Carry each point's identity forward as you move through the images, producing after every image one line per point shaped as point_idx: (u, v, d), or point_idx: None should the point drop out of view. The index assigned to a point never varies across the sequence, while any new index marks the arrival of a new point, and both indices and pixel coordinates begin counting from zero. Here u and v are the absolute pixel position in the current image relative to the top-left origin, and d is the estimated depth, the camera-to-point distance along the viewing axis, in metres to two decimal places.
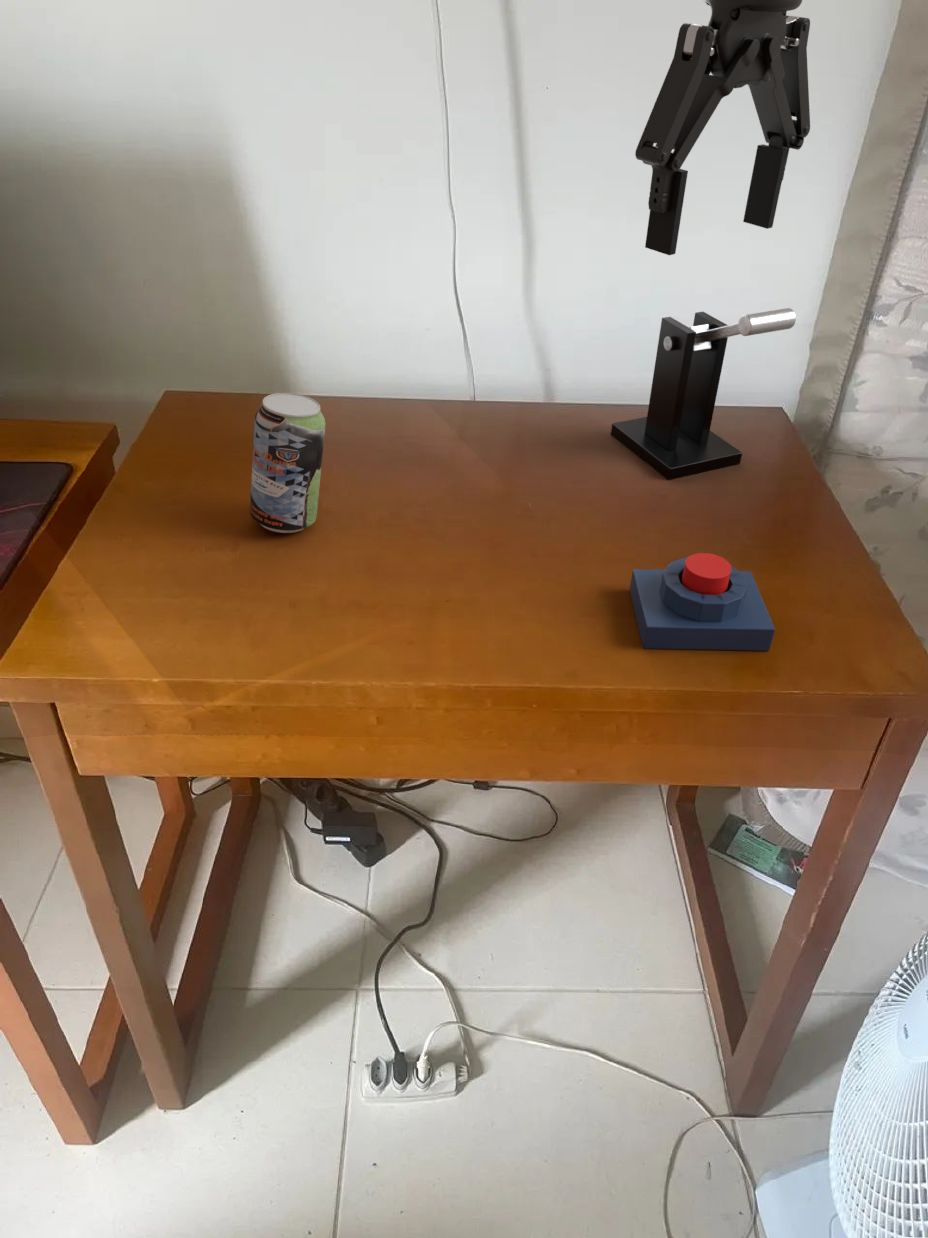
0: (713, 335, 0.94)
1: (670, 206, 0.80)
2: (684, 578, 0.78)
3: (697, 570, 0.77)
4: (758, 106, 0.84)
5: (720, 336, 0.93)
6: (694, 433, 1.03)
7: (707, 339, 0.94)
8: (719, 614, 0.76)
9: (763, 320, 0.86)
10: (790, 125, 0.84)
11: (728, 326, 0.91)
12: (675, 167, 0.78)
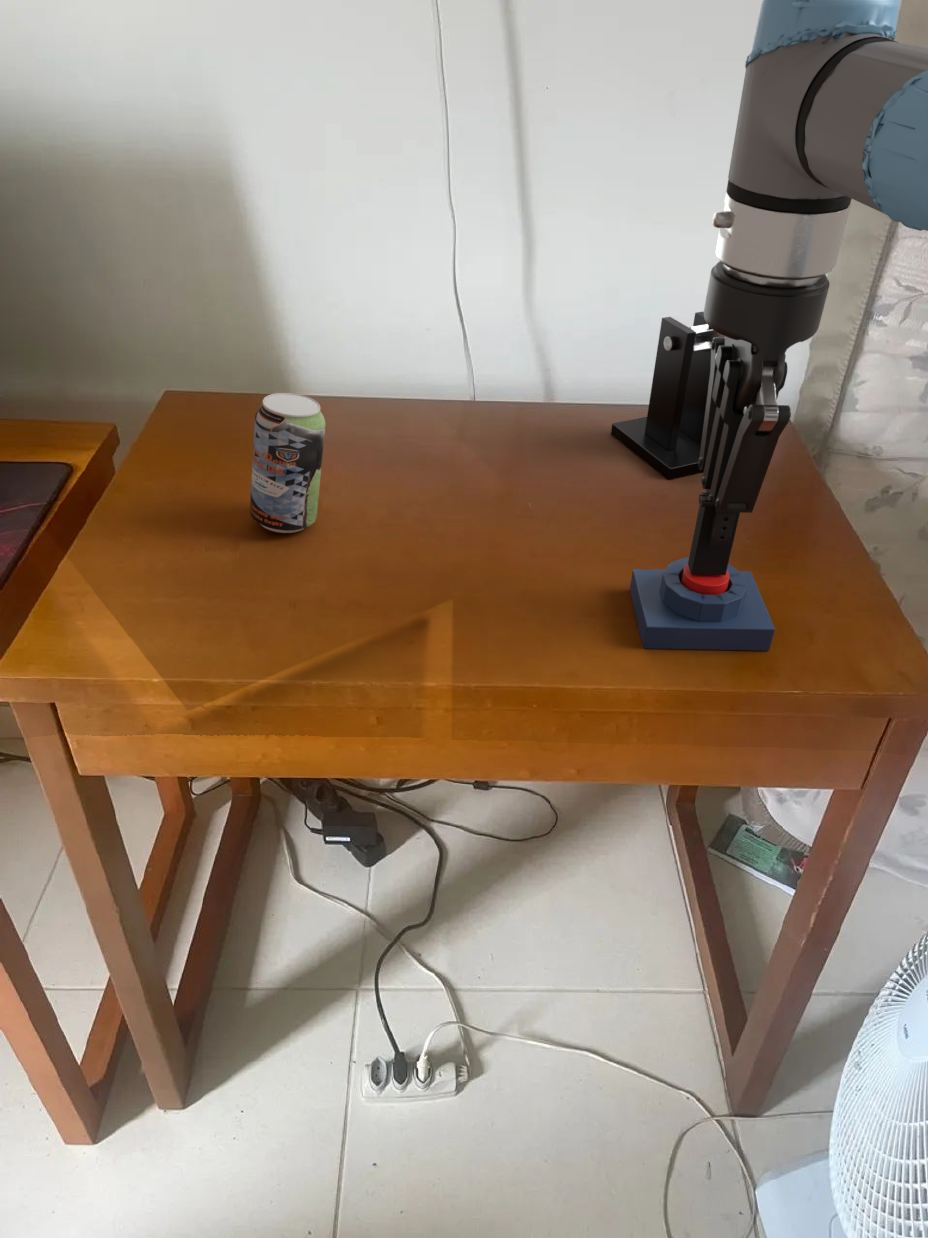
0: (713, 335, 0.94)
1: None
2: None
3: (695, 577, 0.77)
4: (720, 437, 0.71)
5: (720, 336, 0.93)
6: (694, 433, 1.03)
7: (707, 339, 0.94)
8: (719, 614, 0.76)
9: None
10: None
11: None
12: None
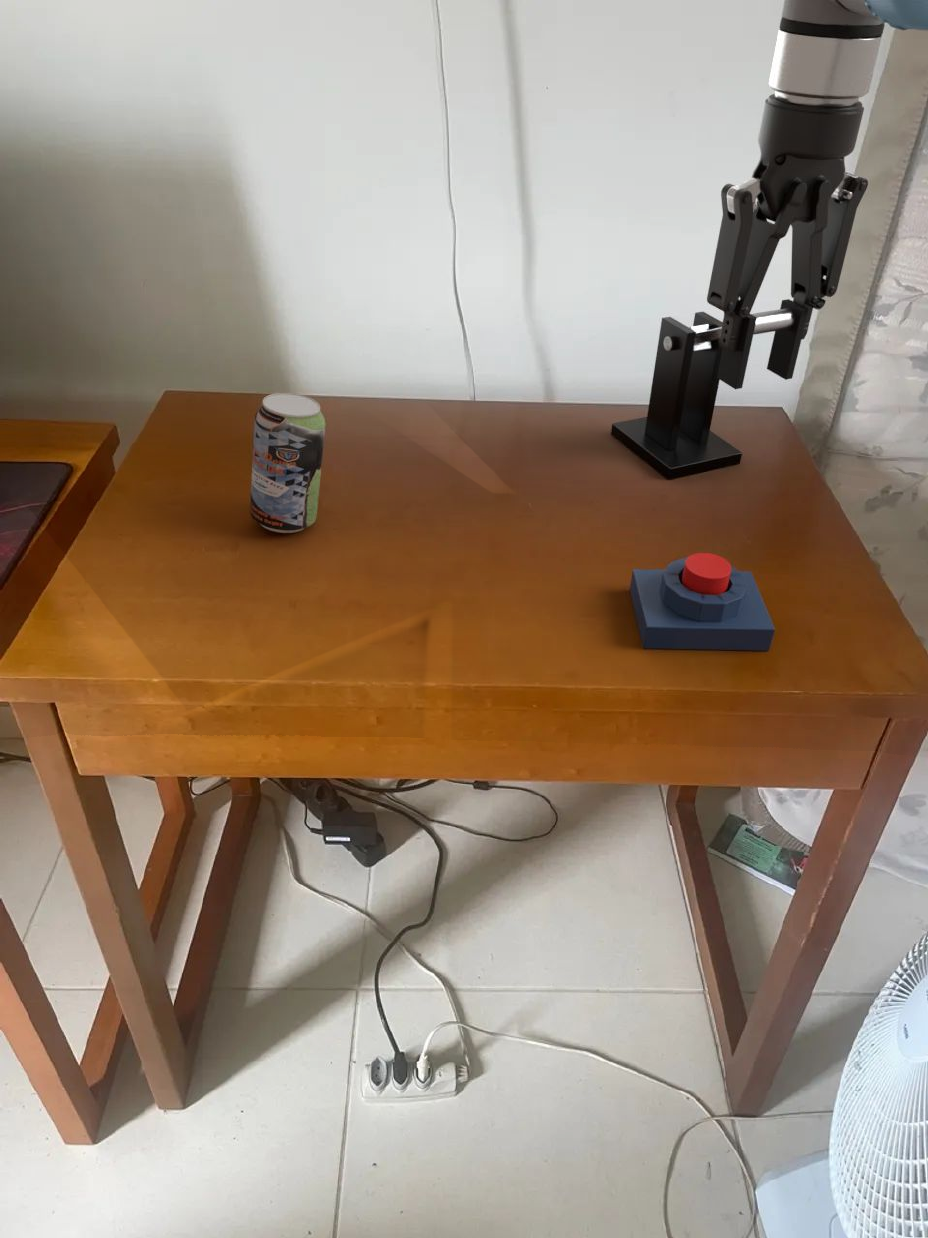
0: (713, 335, 0.94)
1: (739, 346, 0.87)
2: (684, 578, 0.78)
3: (697, 570, 0.77)
4: (794, 252, 0.85)
5: None
6: (694, 433, 1.03)
7: (707, 339, 0.94)
8: (719, 614, 0.76)
9: (763, 320, 0.86)
10: (817, 283, 0.86)
11: None
12: (744, 315, 0.84)
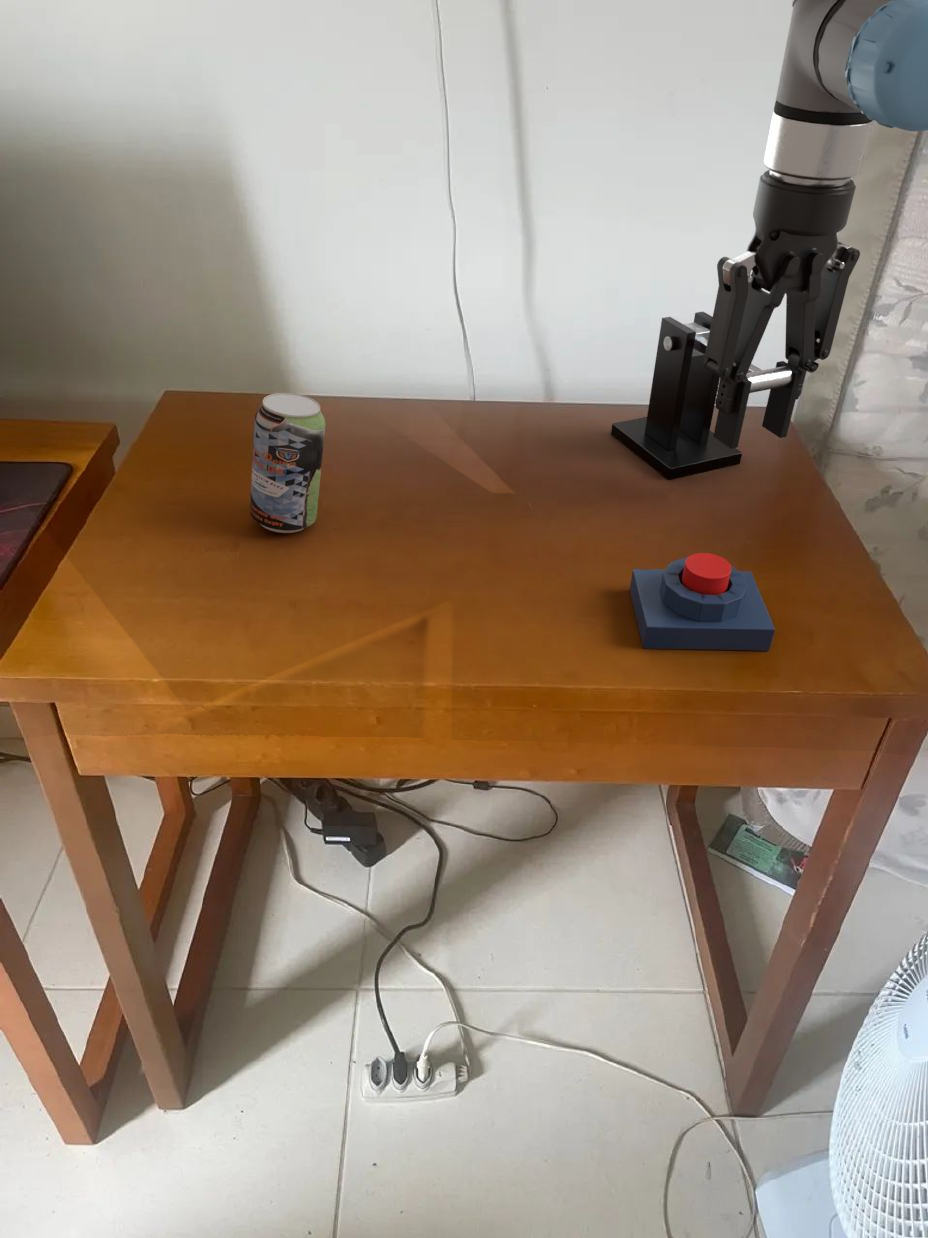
0: None
1: (734, 408, 0.89)
2: (684, 578, 0.78)
3: (697, 570, 0.77)
4: (788, 318, 0.88)
5: None
6: (694, 433, 1.03)
7: None
8: (719, 614, 0.76)
9: (761, 383, 0.88)
10: (810, 347, 0.88)
11: None
12: (739, 379, 0.87)
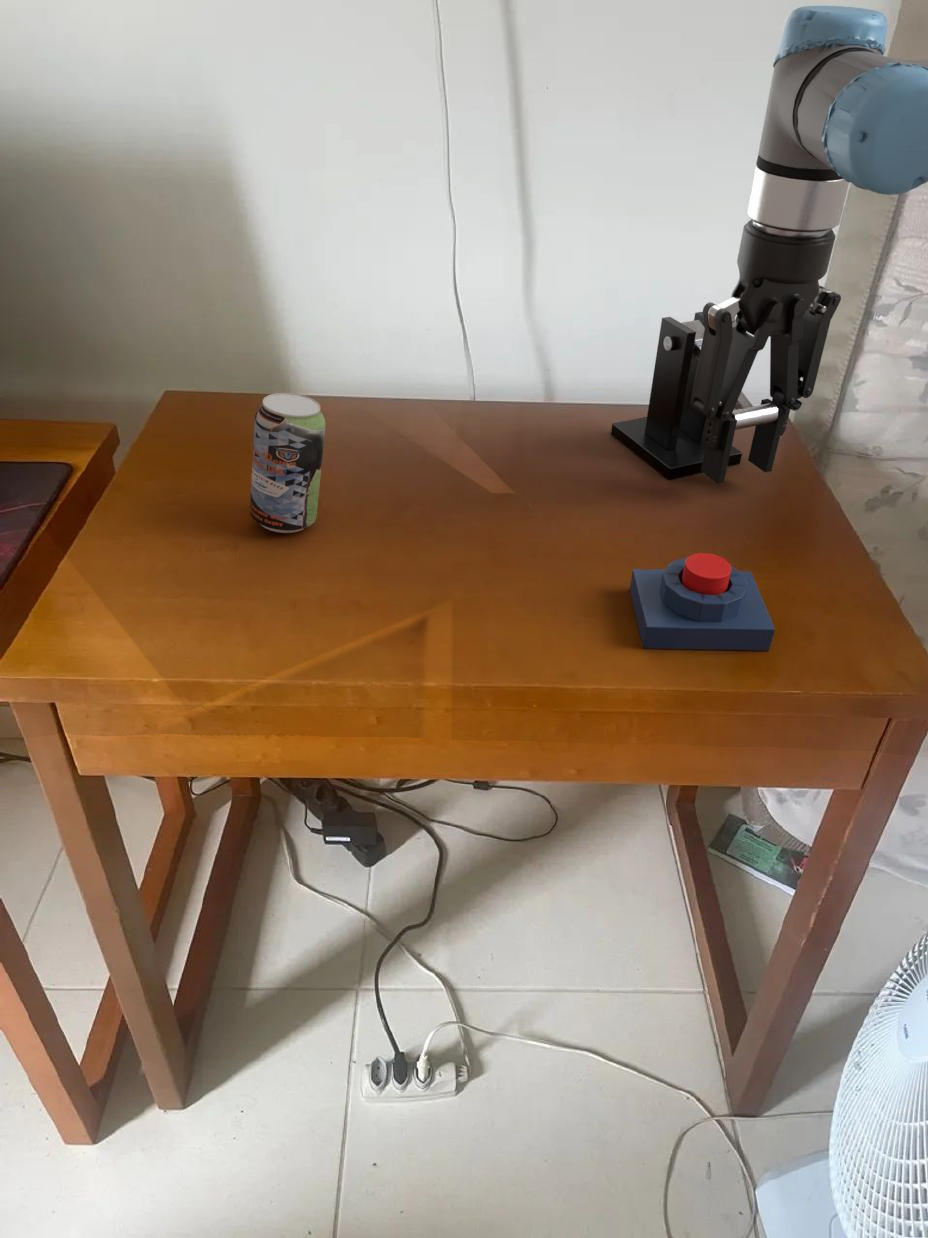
0: None
1: (721, 445, 0.92)
2: (684, 578, 0.78)
3: (697, 570, 0.77)
4: (772, 358, 0.91)
5: None
6: (694, 433, 1.03)
7: None
8: (719, 614, 0.76)
9: (747, 424, 0.91)
10: (794, 386, 0.91)
11: None
12: (725, 418, 0.90)
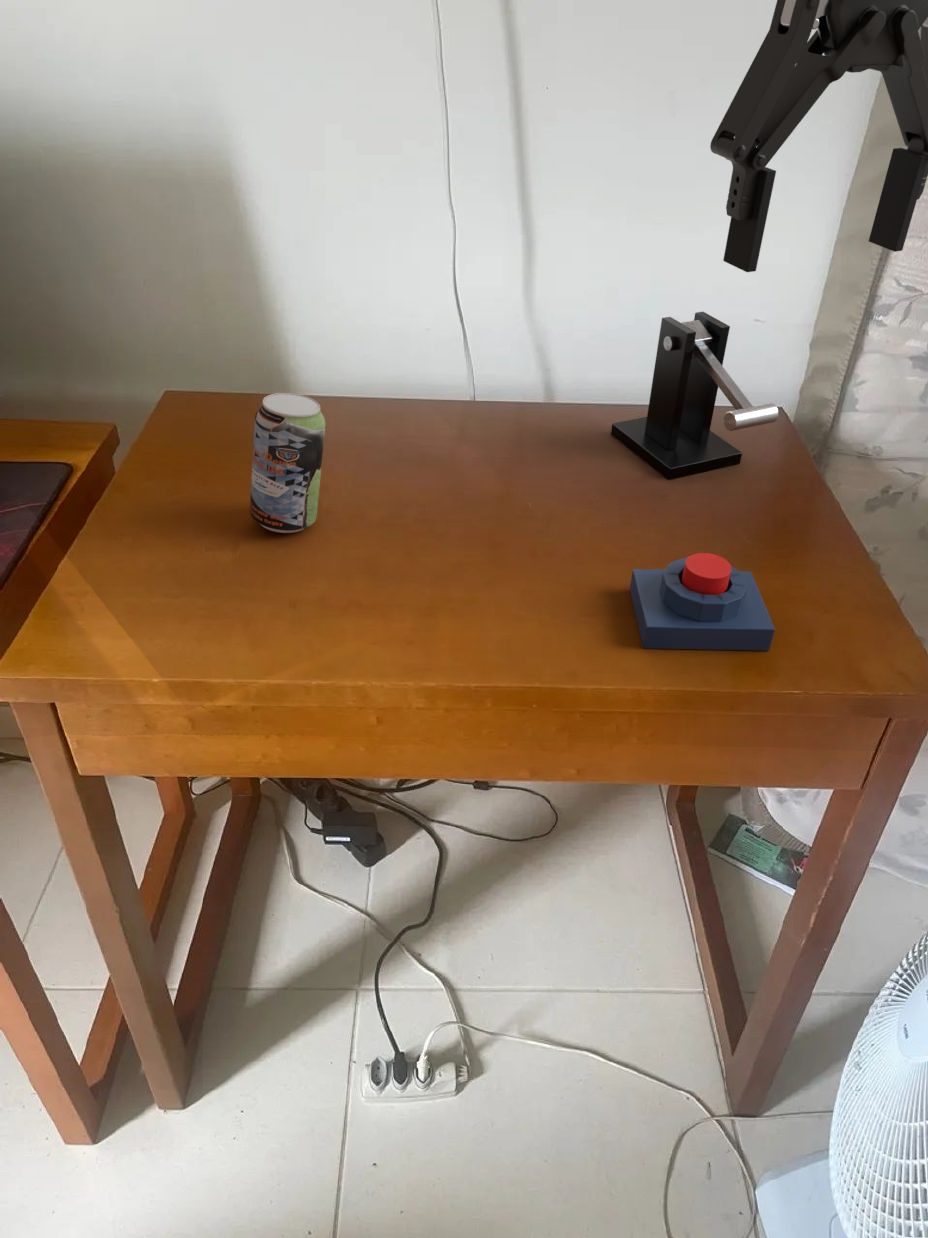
0: (708, 368, 0.95)
1: (752, 213, 0.66)
2: (684, 578, 0.78)
3: (697, 570, 0.77)
4: (893, 99, 0.68)
5: (712, 377, 0.95)
6: (694, 433, 1.03)
7: (702, 363, 0.96)
8: (719, 614, 0.76)
9: (747, 424, 0.91)
10: None
11: (722, 381, 0.94)
12: (758, 165, 0.64)
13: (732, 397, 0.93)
